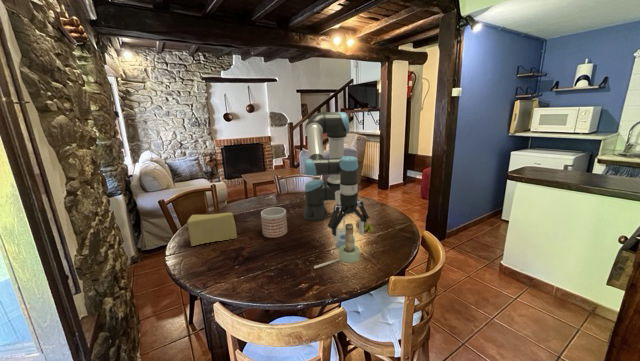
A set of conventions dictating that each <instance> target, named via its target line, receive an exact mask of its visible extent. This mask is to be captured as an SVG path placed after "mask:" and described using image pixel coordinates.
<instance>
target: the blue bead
mask: <svg viewBox="0 0 640 361" xmlns="http://www.w3.org/2000/svg"><path fill="white" fill-rule="evenodd" d="M335 245H336V247H337V248H338V249H339V248H340V247H341V246H343V245H345V233H341V234H338V243H336V242H335ZM353 245H355V236H354V235H353ZM355 246H356V245H355Z"/></svg>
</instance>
